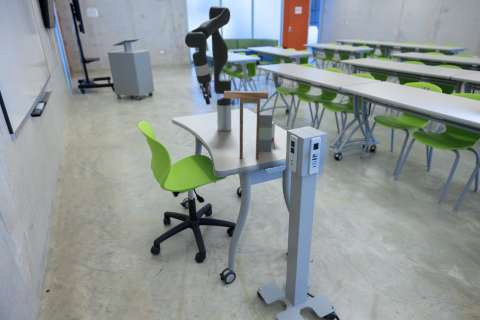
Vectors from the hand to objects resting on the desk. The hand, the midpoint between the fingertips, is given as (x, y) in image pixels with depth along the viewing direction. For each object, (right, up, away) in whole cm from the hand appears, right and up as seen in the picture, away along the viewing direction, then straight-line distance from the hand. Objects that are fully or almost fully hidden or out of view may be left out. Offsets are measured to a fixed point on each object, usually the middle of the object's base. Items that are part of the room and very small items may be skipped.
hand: (209, 101), depth 171 cm
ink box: (+33, -21, +19) cm, 44 cm away
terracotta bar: (+20, -2, -16) cm, 26 cm away
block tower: (+31, -26, +7) cm, 41 cm away
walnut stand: (+22, -31, -3) cm, 38 cm away
